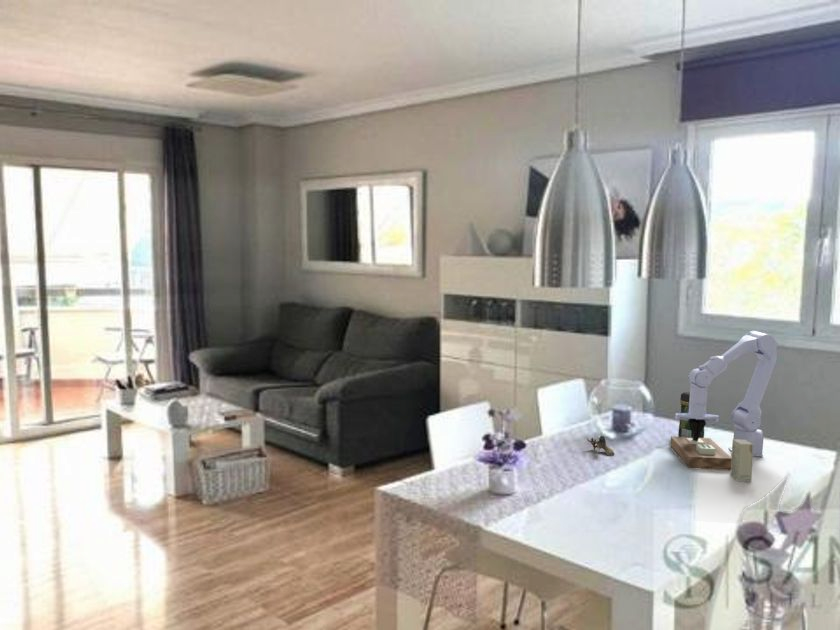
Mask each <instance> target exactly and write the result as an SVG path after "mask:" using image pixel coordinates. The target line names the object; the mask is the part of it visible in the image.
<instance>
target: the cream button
mask: <svg viewBox="0 0 840 630" xmlns="http://www.w3.org/2000/svg"><path fill="white" fill-rule="evenodd" d="M686 441H687V442H688V443H689V444H704V442H703V441H702V440H701V439H698V441H696V440H695V441H694V440H693V438H686Z"/></svg>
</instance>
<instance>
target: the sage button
mask: <svg viewBox="0 0 840 630" xmlns="http://www.w3.org/2000/svg"><path fill="white" fill-rule="evenodd" d="M696 451H697V452H698V453H699V454H706V455H715V448H714V447H713V446H712V445H705V444H697V446H696Z"/></svg>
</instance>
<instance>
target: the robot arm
mask: <svg viewBox="0 0 840 630" xmlns="http://www.w3.org/2000/svg"><path fill="white" fill-rule="evenodd" d="M778 345H779V343H778V341H777V340H776V338H775V337H774V336H773V335H772V334H770V333H764V332H760V331H758V330H751V331H749V332H748V333H747V334H745V335H743V336H742V337H741V339H740V340H738V342H736V344H733V346H732V347H731V348H729V349H728V350H727V351H725V352H724V353H723V354H722V355H715V356H713V355H712V356H711V357H709V360H707V361H706V362H705V363H704V364H701V365H699V367H698V368H693V369H692V370H691V371H690V372H689V374H688V375H687V380H688V382H689V383H690V385H689V386H690V387H689V392H690V399H689V413H681V412H678V413H677V412H676V413H675V416H674V419H675V420H676V421H680V419H682V420H688V423H689V425H690V428H691V432H692V438H693V440H694V441H695V440H696V441H698V439H699V436H700V433H701V431H702V429H703V428H704V429H705V427H706V425H707V422H706V421H710V422H715V423H716V422H717V423H718V422H719V420H720V416H719V415H717V414H708V413H707V401H708V400H707V399H708V386H710V385H711V384H712V381H713V379H714V378H715V377H717V376H718V375H720V374H721V373H723V372H724V371H725V370H727V369H728V365H729V363H731V362H733V361H734V360H736V359H737V358H740V356H742V355H744V354H745V353H747V352H750V353H751V352H752V353H753V352H754V353H755V355H756V357H757V359H758V362H757V363H756V366H755V369H754V372H753V374H752V376H751V380H750V382H749V385H748V387H747V390H746V392H745V395H744V399H743V400H742V401H740V402H738V403H737V406H736V407H735V409H733V411H732V412H731V417H730V418H731V421H732V422H733V426H734V427H733V438H732V440H733V439H741V440H747V441H749V442H750V443H752V444H753V445H754V446H753V457H764V454H763V452H764V451H763V448H764V434H763V430H762V429H759V428H760V426H761V423H762V420H761V417H762V415H763V412H762V409H761V407H760V405H761V403H762V400H763V397H764V395H765V392H766V390H767V387H768V386H769V385H768V384H769V382H770V378H771V376H772V373H773V371H774V368H775V365H776V363H777V361H778V356H777V355H778V354H777V348H778ZM728 450H730V452H732V447H728Z"/></svg>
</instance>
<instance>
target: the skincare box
mask: <svg viewBox="0 0 840 630" xmlns="http://www.w3.org/2000/svg"><path fill="white" fill-rule="evenodd" d="M731 443H732V446H731V448H732V451H731V458H732V460H731V470H730V476H731V477H732V478H734V480H736V481H738V482H749V483H750V482H752V479H753V478H752V477H753V460H754V459H753V457H754V456H753V446H754V445H753V444H752V443H750V442H749V441H747V440H741V439H733V438H732V442H731Z"/></svg>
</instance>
